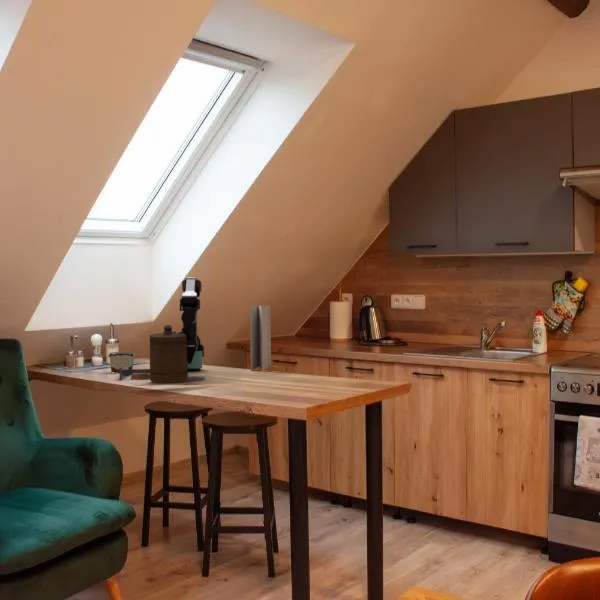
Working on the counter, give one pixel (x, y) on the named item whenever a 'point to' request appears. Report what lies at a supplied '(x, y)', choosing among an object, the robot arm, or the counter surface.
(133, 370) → the rack
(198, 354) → the block
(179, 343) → the wooden container
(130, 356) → the food container
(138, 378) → the board
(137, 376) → the offcut top
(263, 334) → the grey tall angular piece
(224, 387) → the counter surface
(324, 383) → the counter surface
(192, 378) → the mat
